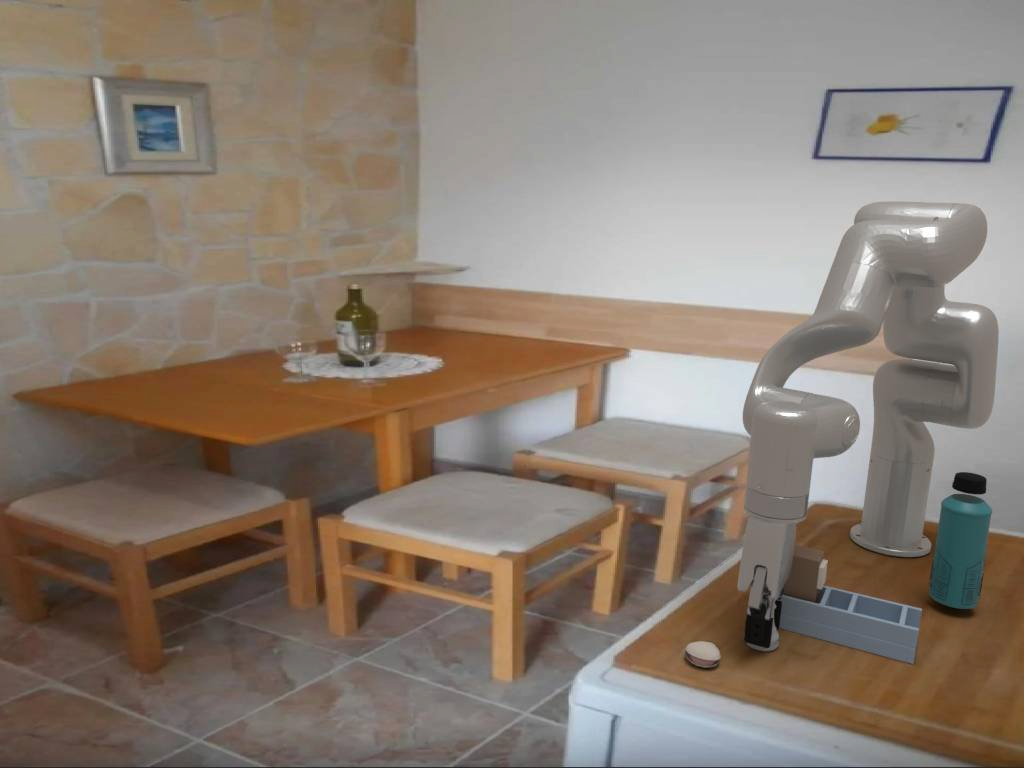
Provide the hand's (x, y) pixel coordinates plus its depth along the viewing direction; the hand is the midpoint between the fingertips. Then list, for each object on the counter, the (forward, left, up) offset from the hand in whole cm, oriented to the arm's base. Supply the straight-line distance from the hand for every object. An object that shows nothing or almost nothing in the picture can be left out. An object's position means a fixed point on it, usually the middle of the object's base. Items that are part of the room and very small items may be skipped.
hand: (761, 634), depth 106 cm
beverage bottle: (-25, +21, -2) cm, 33 cm away
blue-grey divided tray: (-9, +9, -1) cm, 12 cm away
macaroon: (+8, -5, -2) cm, 9 cm away
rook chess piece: (0, 0, -2) cm, 2 cm away
